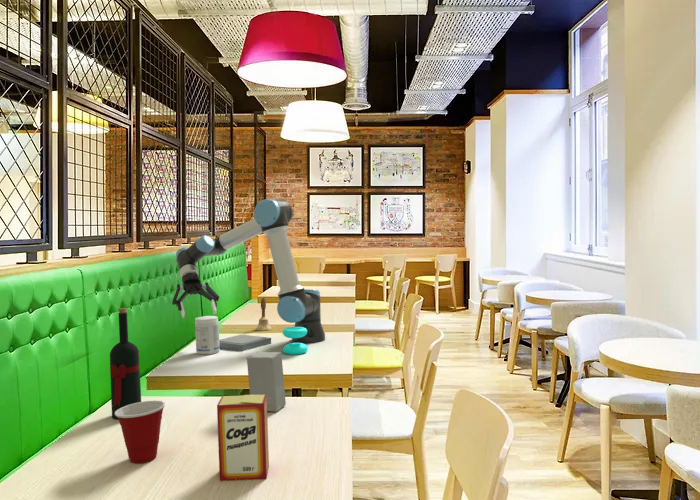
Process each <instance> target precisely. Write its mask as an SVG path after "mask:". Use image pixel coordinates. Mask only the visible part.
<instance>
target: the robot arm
mask: <svg viewBox="0 0 700 500" xmlns="http://www.w3.org/2000/svg"><path fill="white" fill-rule="evenodd" d="M293 216H294V211H293V207H292V205H291V204H290V203H289V201H286V200H284V199H276V198H275V199H274V198H267V199H262V200H259V202H258V203H257V204H256V205H255V207H254V211H253V219H250V220H249V221H246V222H244V223H243V224H241V225H239V226H236V227H234V228H232V229H231V230H229V231H227V232H225V233H223V234H221V235H219V236H217V237H214V238H211V237H210V236H208V235H206V234H205V235H202V236H200V237H198V238H197V239H196V241H194V242H193V243H192V244H191V245H190V246H189V247H186V246H185V247H182V248H179V249H177V251H176V253H175V258H176V260H175V261H176V262H177V266H178V269H179V275H180V279H181V282H182V285H180V284H179V283H178V284H176V288H175V289H176V290H175V294H174V296H173V299H172V301H171V302H172V303H171V305H173V306H174V305H176V307H177V311H179V312H180V314H181V317H182V318H183V319H184V318H185V316H186V312H185V308H184V304H183V301H184V300H185V299H186V297H187V296H188V295H200V296H202V297H204V298H206V299H207V300H208V301H210V304H211V305H210V306H211V309H212V312H213V316H216V314H217V312H218V310H217V306H218V303H217V302H219V299H220V296H219V294H218V293H216V291H215V290H214V289H213V288H212V287H210V285H209V282H205V283H203V284H202V283H201V279H200V276H199V271H198V269H197V266H196V264H197V263H199V261H200V260H202V259H203V258H204V257H207V256H208V257H209V256H221V255H223V254H225V253H226V252H227V251H228V250H230V249H232V248H233V247H236V246H238V245H241V244H243V243H245V242H246V241H248V240H250V239H253V238H255V237H257V236H259V235H262V234H264V235H265V237H267V240H268V244H269V250H270V253H271V257H272V263H273V266H274V269H275V274H276V277H277V282H278V286H279V291H278V292H277V297H278V302H277V306H276V310H277V314H278V316H279V317H280V319H282V321H284V322H286V323H290V324H291V323H292V324H294V325H293V327H304V328H306V329H307V334H306V335H305V336H304V337H301V338H291V341H292V342H293V343H303V344H305V343H306V344H308V343H309V344H310V343H317V342H322V341H325V340H326V333H325V331H324V328H323V325H322V322H321V321H322V318H321V317H322V316H321V315H322V314H321V312H322V311H321V310H322V309H321V299H322V298H321V297H322V296H321V292H320V290H318V289H311V288H310V289H309V288H307V289H305V287H304V286H303V285H301V284H300V281H299V277H298V272H297V269H296V264H295V260H294V257H293V253H292V249H291V245H290V241H289V236H288V232H287V230H288V229H289V227H290V226H289V223H290V222H291V220H292V219H293ZM182 290H184V291H183V293H182V294H181V295H180V293H181V291H182ZM179 295H180V296H179ZM178 297H179V298H178Z"/></svg>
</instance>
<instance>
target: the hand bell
mask: <svg viewBox="0 0 700 500" xmlns="http://www.w3.org/2000/svg"><path fill="white" fill-rule="evenodd" d="M266 306H267V302H266V299H265V297H262V298H261V301H260V308H261V309H260V310H261V317H260V318H259V319H258V323H257V324H258V325H257V326H256V328H255V331H260V332H261V331H263V332H264V331H271V330H273V328H272V327H271V326H270V324H269V318H267V317H266Z"/></svg>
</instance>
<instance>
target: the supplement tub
mask: <svg viewBox="0 0 700 500" xmlns="http://www.w3.org/2000/svg"><path fill="white" fill-rule="evenodd" d="M219 326H220V325H219V317H218V316H216V315H205V316H198V317H195V318H194V331H195V346H196V348H195V350H196V353H197V354H198V355H205V356H206V355H214V354H217V353H219V352H220V349H221V348H220V343H219V340H220V327H219Z"/></svg>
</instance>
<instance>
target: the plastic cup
mask: <svg viewBox="0 0 700 500" xmlns="http://www.w3.org/2000/svg"><path fill="white" fill-rule="evenodd" d="M165 404H166V402H165V401H162V400H145V401H141V402H138V403H134V404H130V405H127V406H124V407H122V408H120V409H118V410H117V411H115V416H117V418H118V420H117V421H118V422H119V425H120V427H121V428H120V429H121V432H122V437H123V440H124V445H125V448H126V451H127V456H128V459H129V462H130V463H133V464H144V463H148V462H151V461H154V460H155V459H157V455H158V447H159V443H160V434H161V433H160V432H161V423H162V419H163V413H164V412H163V411H164V408H165Z"/></svg>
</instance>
